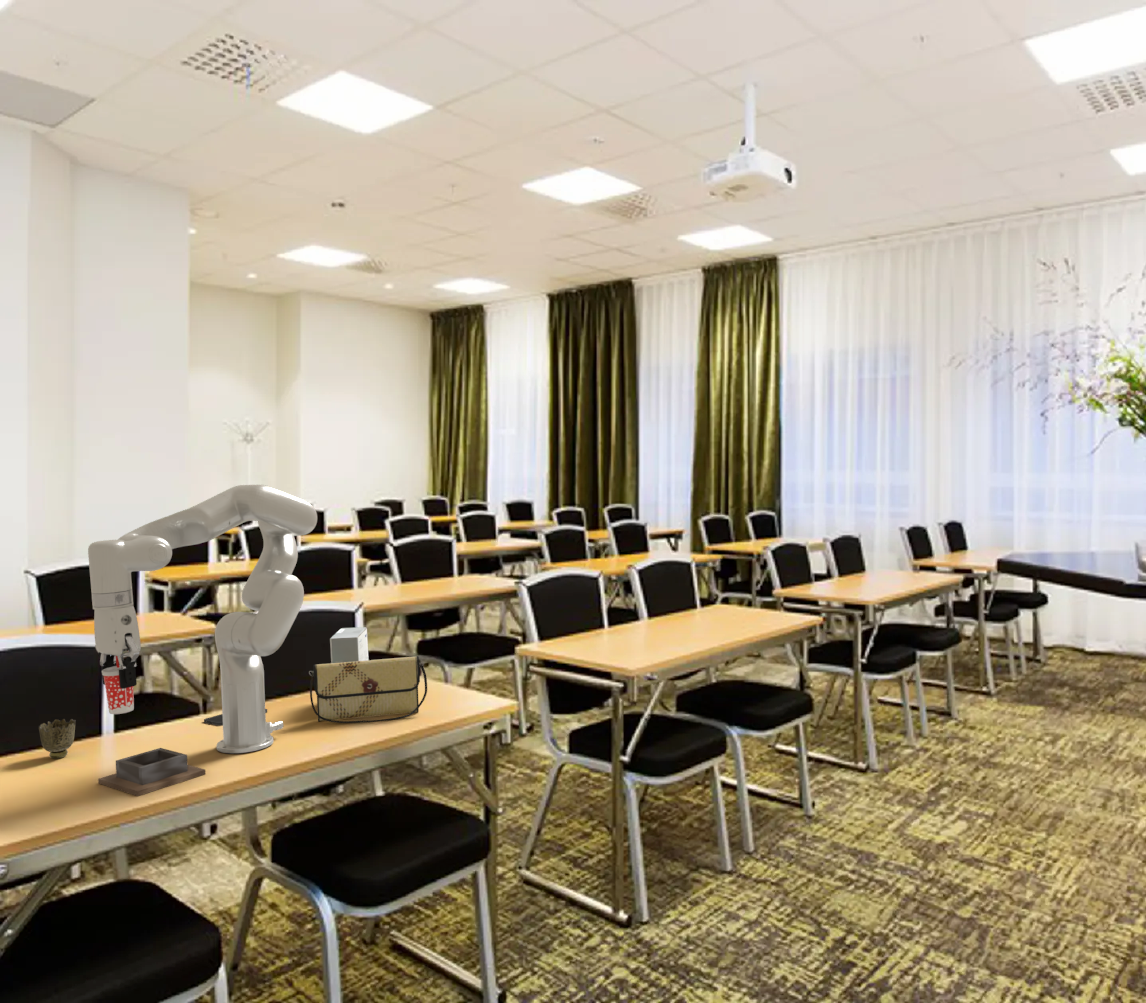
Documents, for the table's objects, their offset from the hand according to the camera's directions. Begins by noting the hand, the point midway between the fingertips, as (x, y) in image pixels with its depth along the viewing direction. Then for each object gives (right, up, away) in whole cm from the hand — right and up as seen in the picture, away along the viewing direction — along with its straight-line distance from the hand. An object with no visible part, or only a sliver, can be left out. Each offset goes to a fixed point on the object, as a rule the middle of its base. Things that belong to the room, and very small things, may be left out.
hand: (119, 684), depth 186 cm
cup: (-24, -21, +20) cm, 38 cm away
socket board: (+5, -21, +3) cm, 22 cm away
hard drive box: (+33, -18, +62) cm, 73 cm away
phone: (+5, -20, +51) cm, 55 cm away
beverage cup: (0, -6, 0) cm, 6 cm away
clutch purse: (+42, -18, +45) cm, 65 cm away
